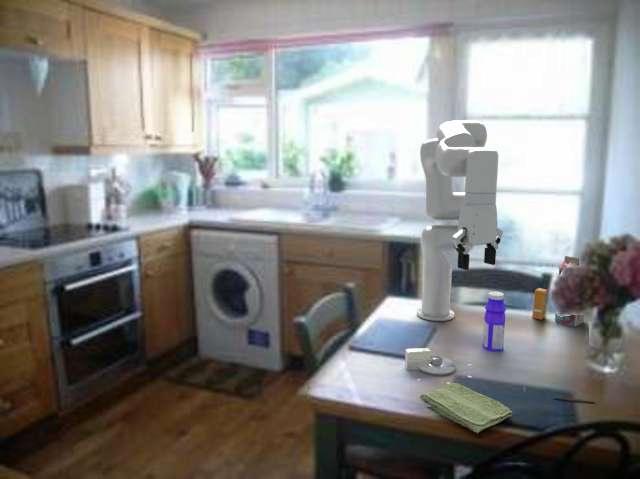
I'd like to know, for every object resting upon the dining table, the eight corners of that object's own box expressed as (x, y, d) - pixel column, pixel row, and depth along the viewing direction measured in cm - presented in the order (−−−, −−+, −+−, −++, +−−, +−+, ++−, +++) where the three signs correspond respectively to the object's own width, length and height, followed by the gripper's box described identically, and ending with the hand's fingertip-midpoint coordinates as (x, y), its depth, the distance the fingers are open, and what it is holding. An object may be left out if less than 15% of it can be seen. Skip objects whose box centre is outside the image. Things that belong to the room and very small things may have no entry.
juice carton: (574, 326, 174) (581, 260, 170) (554, 321, 179) (560, 257, 175) (583, 322, 178) (590, 257, 174) (563, 317, 183) (569, 254, 179)
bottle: (504, 357, 151) (508, 297, 147) (483, 355, 152) (487, 296, 148) (501, 347, 158) (505, 290, 154) (481, 345, 159) (484, 289, 155)
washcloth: (478, 438, 111) (479, 424, 111) (415, 405, 125) (416, 392, 125) (515, 418, 119) (516, 405, 118) (452, 389, 133) (453, 377, 132)
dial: (447, 358, 147) (447, 340, 146) (461, 374, 137) (462, 355, 136) (400, 360, 145) (401, 343, 144) (411, 377, 135) (412, 358, 134)
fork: (596, 407, 124) (597, 399, 123) (523, 398, 128) (524, 391, 127) (594, 402, 126) (595, 394, 126) (522, 393, 130) (523, 386, 130)
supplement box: (542, 320, 180) (544, 291, 178) (531, 317, 182) (534, 289, 180) (545, 317, 183) (548, 289, 181) (535, 315, 185) (537, 287, 183)
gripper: (491, 195, 141) (487, 259, 144) (443, 200, 132) (441, 267, 135) (515, 198, 135) (511, 264, 138) (467, 203, 126) (463, 274, 129)
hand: (476, 266), depth 136 cm, fingers open, 9 cm apart
